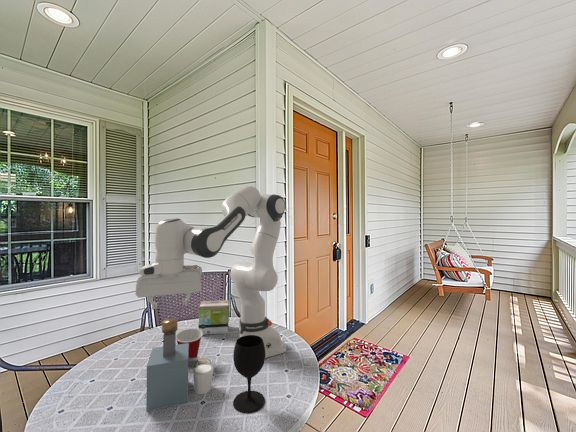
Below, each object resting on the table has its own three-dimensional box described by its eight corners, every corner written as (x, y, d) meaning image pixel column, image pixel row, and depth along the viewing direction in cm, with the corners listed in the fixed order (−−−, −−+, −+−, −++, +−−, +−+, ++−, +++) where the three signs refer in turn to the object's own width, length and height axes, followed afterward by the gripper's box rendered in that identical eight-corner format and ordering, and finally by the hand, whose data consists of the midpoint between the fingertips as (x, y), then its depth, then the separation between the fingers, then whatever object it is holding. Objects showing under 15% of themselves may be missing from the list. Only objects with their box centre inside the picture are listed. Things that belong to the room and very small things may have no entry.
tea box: (198, 335, 135) (198, 306, 135) (200, 327, 145) (200, 300, 145) (228, 333, 138) (228, 305, 138) (228, 325, 148) (229, 299, 148)
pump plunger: (177, 348, 93) (177, 317, 93) (176, 355, 89) (177, 322, 89) (162, 350, 92) (162, 319, 92) (160, 357, 87) (161, 324, 87)
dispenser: (197, 379, 99) (197, 322, 99) (197, 400, 88) (197, 336, 88) (152, 387, 94) (152, 328, 94) (146, 411, 83) (146, 343, 83)
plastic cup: (176, 373, 103) (176, 342, 103) (173, 359, 113) (174, 331, 113) (205, 366, 108) (205, 336, 108) (200, 353, 118) (200, 326, 118)
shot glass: (207, 396, 90) (207, 375, 90) (188, 393, 91) (188, 372, 91) (216, 383, 97) (216, 364, 97) (199, 381, 98) (199, 362, 98)
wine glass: (236, 417, 80) (237, 351, 81) (230, 396, 90) (230, 336, 90) (269, 407, 85) (269, 344, 85) (259, 388, 94) (260, 331, 94)
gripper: (201, 263, 97) (202, 301, 97) (138, 266, 90) (138, 307, 90) (202, 266, 91) (202, 306, 91) (134, 270, 84) (134, 314, 84)
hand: (170, 307), depth 90 cm, fingers open, 8 cm apart
